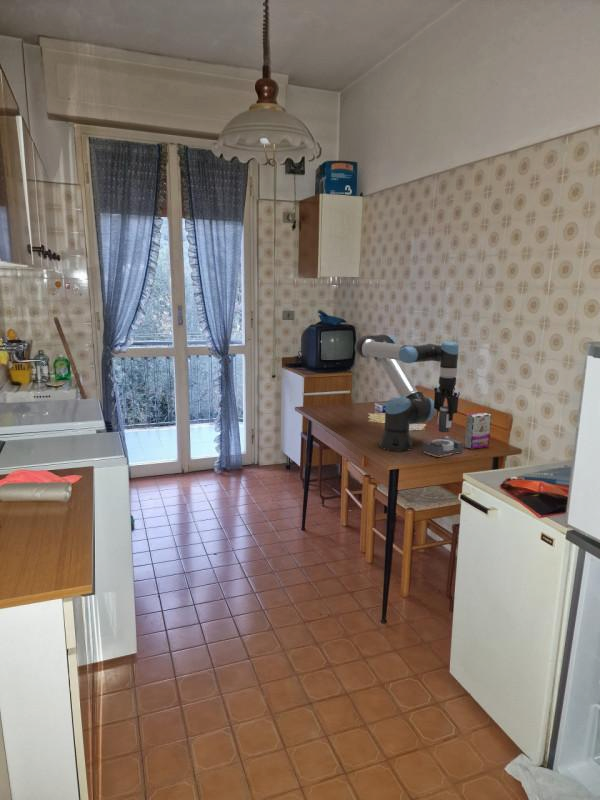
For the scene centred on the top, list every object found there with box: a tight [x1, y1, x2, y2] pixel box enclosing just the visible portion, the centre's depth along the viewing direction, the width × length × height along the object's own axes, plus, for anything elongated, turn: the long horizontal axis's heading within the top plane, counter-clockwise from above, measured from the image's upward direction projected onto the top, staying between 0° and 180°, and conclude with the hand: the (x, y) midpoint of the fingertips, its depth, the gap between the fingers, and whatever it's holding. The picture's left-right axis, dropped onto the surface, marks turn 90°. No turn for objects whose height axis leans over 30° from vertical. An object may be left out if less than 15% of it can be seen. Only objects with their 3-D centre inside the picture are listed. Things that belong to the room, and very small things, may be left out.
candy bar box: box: [464, 412, 492, 450], centre depth 260 cm, size 11×5×16 cm, turn 114°
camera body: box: [421, 436, 464, 456], centre depth 252 cm, size 16×10×6 cm, turn 122°
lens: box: [438, 405, 450, 433], centre depth 249 cm, size 5×5×12 cm
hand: (444, 425), depth 250 cm, fingers closed on lens, 5 cm apart
